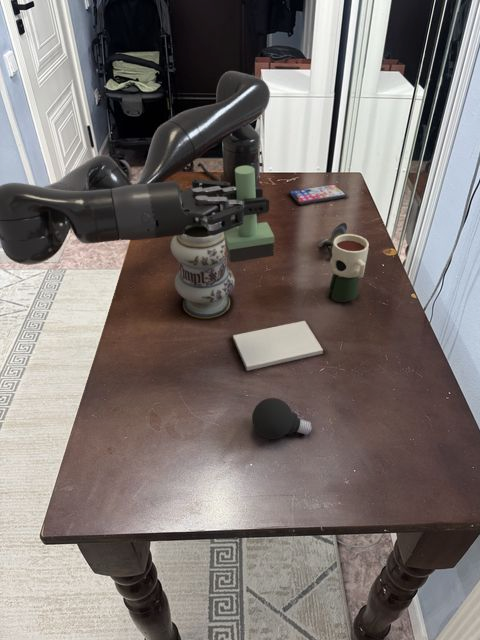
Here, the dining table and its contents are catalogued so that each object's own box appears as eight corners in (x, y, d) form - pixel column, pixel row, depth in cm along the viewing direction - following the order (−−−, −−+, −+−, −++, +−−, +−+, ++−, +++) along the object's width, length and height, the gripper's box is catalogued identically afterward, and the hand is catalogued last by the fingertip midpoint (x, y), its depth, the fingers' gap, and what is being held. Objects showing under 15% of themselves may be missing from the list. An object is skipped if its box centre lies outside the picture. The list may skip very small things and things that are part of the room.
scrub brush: (230, 263, 77) (222, 179, 68) (224, 247, 80) (217, 166, 71) (274, 256, 78) (273, 173, 69) (267, 241, 81) (265, 160, 72)
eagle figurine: (354, 258, 115) (353, 232, 121) (341, 237, 111) (340, 211, 116) (324, 269, 119) (325, 243, 124) (310, 249, 114) (311, 224, 120)
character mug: (316, 285, 109) (322, 233, 100) (343, 278, 111) (352, 226, 102) (340, 314, 102) (349, 260, 93) (370, 306, 104) (381, 253, 95)
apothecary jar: (199, 280, 109) (194, 205, 97) (246, 298, 105) (245, 221, 93) (165, 309, 102) (154, 231, 89) (213, 329, 97) (209, 250, 85)
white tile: (246, 370, 89) (246, 367, 89) (232, 339, 96) (232, 335, 95) (322, 353, 93) (323, 349, 92) (304, 324, 99) (304, 320, 99)
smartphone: (347, 194, 139) (299, 203, 135) (346, 198, 140) (299, 206, 136) (335, 183, 144) (288, 190, 140) (334, 186, 145) (288, 193, 141)
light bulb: (323, 427, 75) (262, 410, 72) (306, 457, 78) (247, 441, 75) (316, 401, 80) (259, 385, 78) (300, 430, 83) (245, 415, 81)
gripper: (146, 212, 77) (252, 201, 81) (157, 260, 68) (277, 245, 71) (139, 165, 72) (253, 156, 76) (150, 209, 63) (280, 196, 66)
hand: (264, 199), depth 74 cm, fingers closed on scrub brush, 3 cm apart
